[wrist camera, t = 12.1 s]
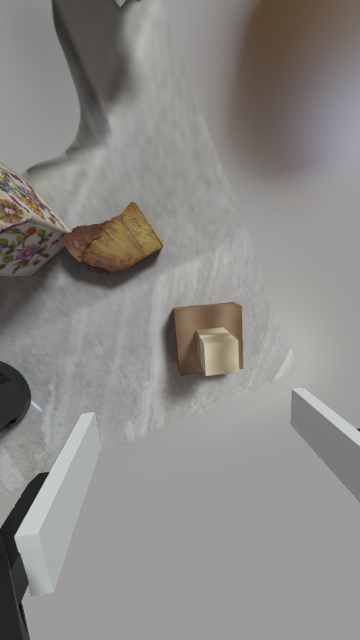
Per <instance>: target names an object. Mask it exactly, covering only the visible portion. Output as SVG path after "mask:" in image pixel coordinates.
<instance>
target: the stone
mask: <svg viewBox="0 0 360 640" xmlns="http://www.w3.org/2000/svg"><path fill="white" fill-rule="evenodd" d="M61 242H62V244H63V245H64V246H65V247H66V249H67V250H68V251H69V252H70V253H71V255H72V256H73V257H74V258H75V259H76V260H77V261H78V262H79V263H81V264H82V265H84V266H85V267H87V268H89V269H91V270H95V271H98V272H103V273H118V272H121V271H123V270H125V269H127V268H129V267H131V266H133V265H135V264H137V263H138V262H140V261H141V260H143V259H144V258H146V257H147V256H149V255H151V254H153V253H155V252H157V251H159V250H160V249H162V247H163V244H162V240H161V239H160V238H159V236H158V235H157V234H156V233H155V231H154V230H153V229H152V227H151V226H150V224H149V223H148V221H147V220H146V218H145V217H144V215H143V213H142V212H141V210H140V209H139V207H138V206H137V204H136V203H134V202H131V203H130V204H129V206H128V207H127V208H126V209H125V211H124V213H123V214H121V215H120V216H117V217H114V218H112V219H111V220H110V221H105V222H104V223H101V224H93V225H89V226H87V225H85V226H79V227H78V226H77V227H76V228H73V230H72V232H70V233H66V234H65V235H64V236H63V238H62V240H61Z"/></svg>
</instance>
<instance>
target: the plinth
mask: <svg viewBox="0 0 360 640" xmlns="http://www.w3.org/2000/svg"><path fill="white" fill-rule="evenodd" d="M173 311H174V322H175V333H176V344H177V355H178V365H179V372H180V375H188V374H198V373H204V370H203V368H202V365H201V363H200V360H199V358H198V351H197V336H196V330H201V329H212V328H222V327H224V328H225V329H226V330H227V331H228V332H229V333H230V334H232V335H233V336H234V337H235V338H236V339H237V340H238V352H239V369H243V342H242V306H241V305H238V304H236V303H233V302H231V303H220V304H210V305H199V306H188V307H178V308H173Z"/></svg>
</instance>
